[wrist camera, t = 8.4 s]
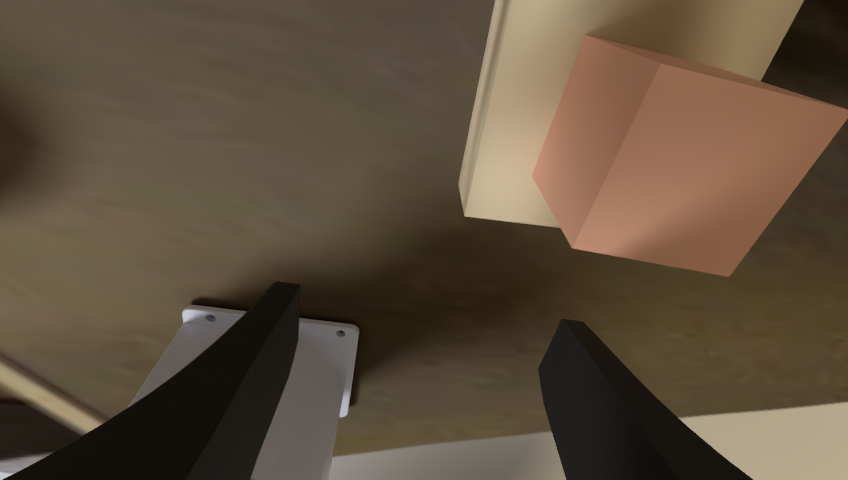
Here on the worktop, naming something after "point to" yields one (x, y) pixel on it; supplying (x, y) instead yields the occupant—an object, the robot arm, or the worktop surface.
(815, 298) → the worktop surface
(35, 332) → the worktop surface
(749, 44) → the birch base block
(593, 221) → the terracotta cube
